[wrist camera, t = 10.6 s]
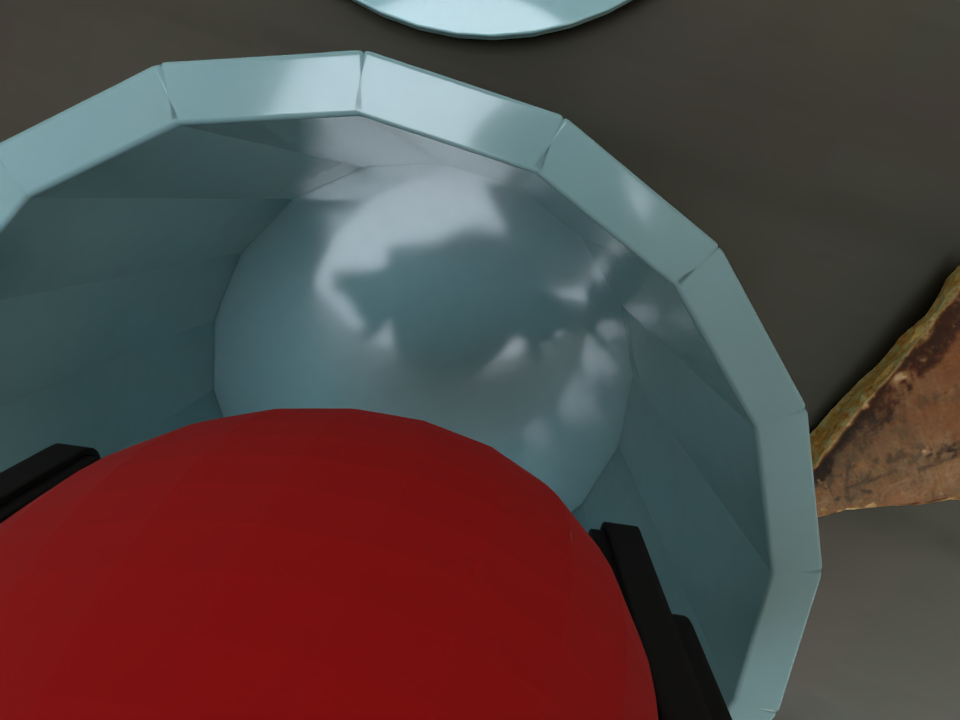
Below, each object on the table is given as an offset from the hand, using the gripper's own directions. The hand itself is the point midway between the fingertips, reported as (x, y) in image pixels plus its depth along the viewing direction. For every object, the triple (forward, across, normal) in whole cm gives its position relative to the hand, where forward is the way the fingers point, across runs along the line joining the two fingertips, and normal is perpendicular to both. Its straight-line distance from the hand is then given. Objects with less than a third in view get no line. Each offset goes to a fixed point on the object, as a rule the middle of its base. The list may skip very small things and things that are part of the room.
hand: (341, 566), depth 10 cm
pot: (+11, 0, 0) cm, 11 cm away
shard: (+12, -18, -1) cm, 21 cm away
